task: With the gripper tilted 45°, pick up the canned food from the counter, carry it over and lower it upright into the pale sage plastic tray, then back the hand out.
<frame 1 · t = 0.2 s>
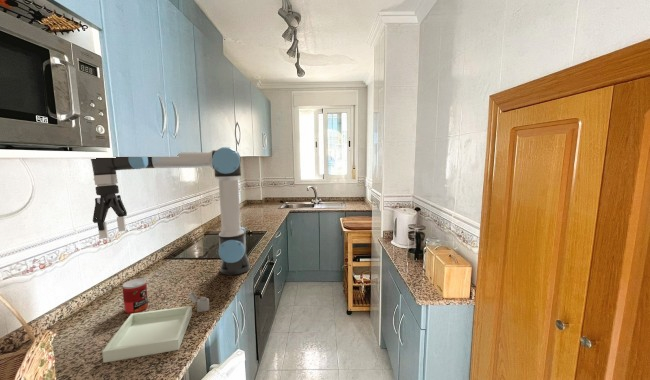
hand: (113, 234, 115), 27 cm above the countertop, tool pointing down, fingers open, 13 cm apart
canned food: (136, 309, 107), on the countertop
tray: (153, 335, 91), on the countertop
lighter: (199, 311, 106), on the countertop
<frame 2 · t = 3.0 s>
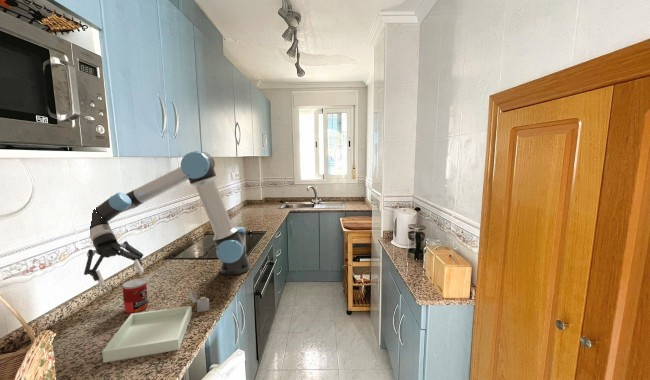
hand: (123, 279, 108), 11 cm above the countertop, tool tilted 45°, fingers open, 13 cm apart
nothing on the countertop moved.
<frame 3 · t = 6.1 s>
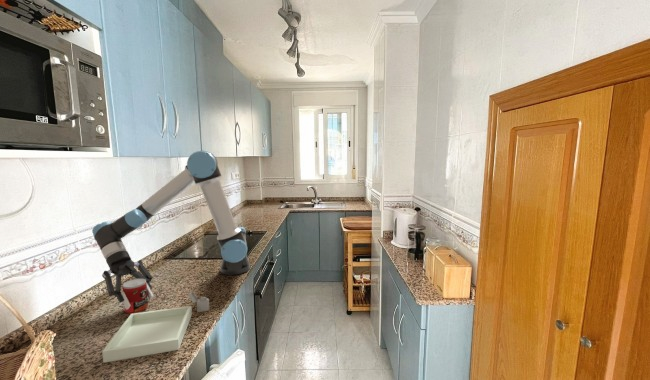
hand: (140, 302, 105), 4 cm above the countertop, tool tilted 45°, fingers closed on canned food, 8 cm apart
canned food: (136, 309, 107), on the countertop, touching gripper
everything else where it was.
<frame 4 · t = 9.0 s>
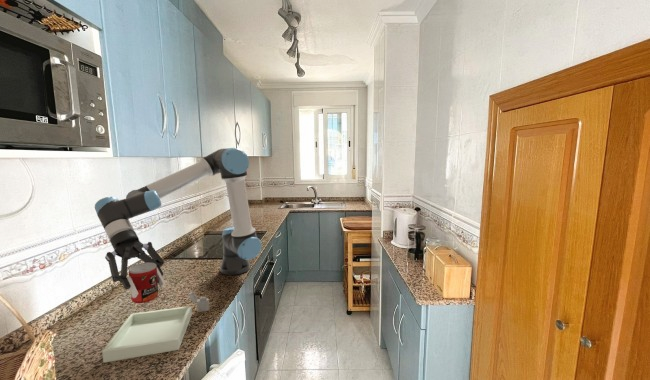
hand: (149, 290, 88), 16 cm above the countertop, tool tilted 45°, fingers closed on canned food, 8 cm apart
canned food: (145, 298, 91), point 13 cm above the countertop, touching gripper
everything else where it was.
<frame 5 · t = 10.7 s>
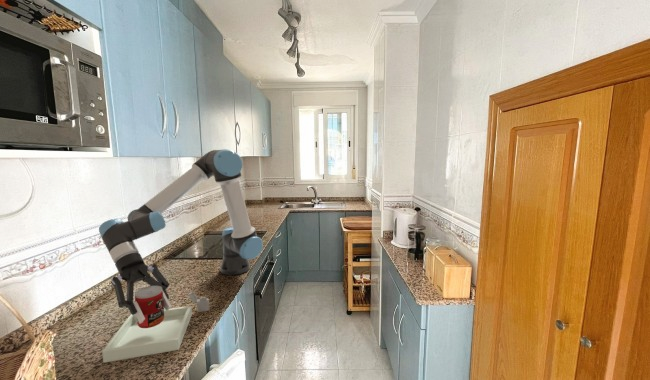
hand: (156, 314, 88), 9 cm above the countertop, tool tilted 45°, fingers closed on canned food, 8 cm apart
canned food: (151, 322, 90), point 5 cm above the countertop, touching gripper
everything else where it was.
when the fingers open (6 cm above the countertop, at t = 12.1 s): canned food drops 1 cm, resting on tray.
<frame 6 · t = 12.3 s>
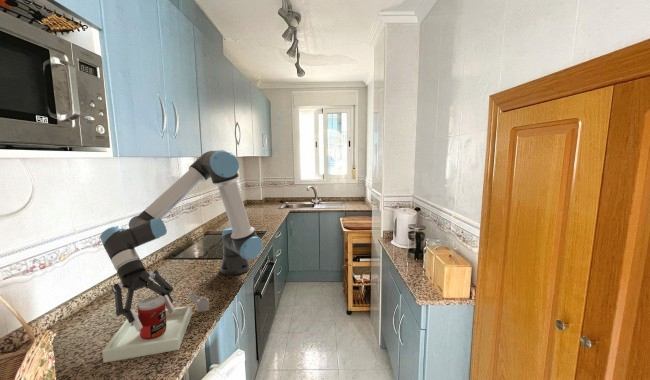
hand: (157, 320, 89), 6 cm above the countertop, tool tilted 45°, fingers open, 10 cm apart
canned food: (153, 333, 91), point 1 cm above the countertop, touching tray
everything else where it was.
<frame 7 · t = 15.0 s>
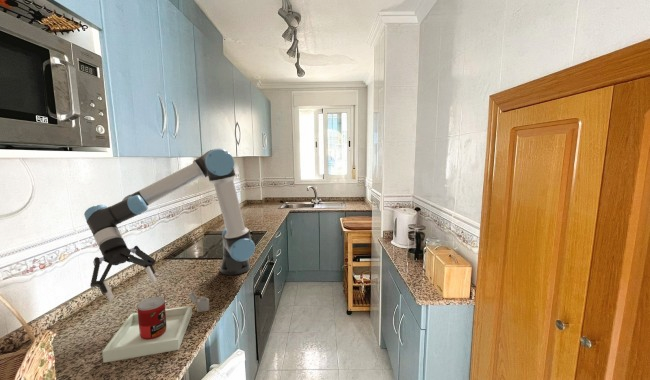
hand: (134, 290, 96), 12 cm above the countertop, tool tilted 40°, fingers open, 13 cm apart
nothing on the countertop moved.
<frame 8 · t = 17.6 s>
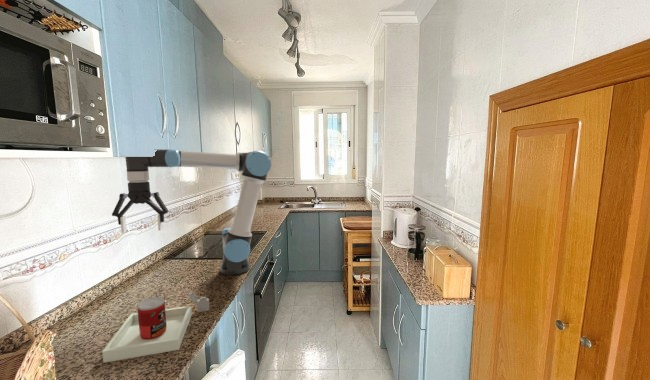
hand: (142, 230, 115), 29 cm above the countertop, tool pointing down, fingers open, 13 cm apart
nothing on the countertop moved.
at the end: canned food inside the target area on the tray (0.1 cm from its centre), point 0.6 cm above the tray's base; canned food tilted 0°; the gripper is holding nothing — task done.
